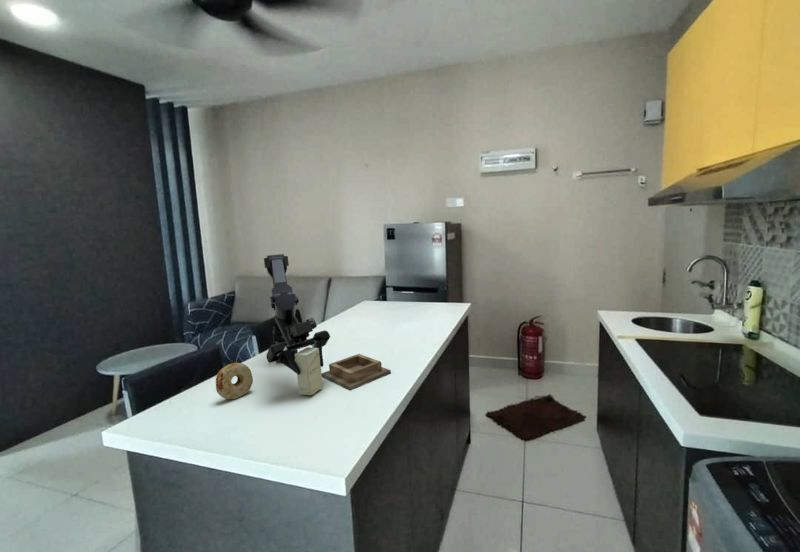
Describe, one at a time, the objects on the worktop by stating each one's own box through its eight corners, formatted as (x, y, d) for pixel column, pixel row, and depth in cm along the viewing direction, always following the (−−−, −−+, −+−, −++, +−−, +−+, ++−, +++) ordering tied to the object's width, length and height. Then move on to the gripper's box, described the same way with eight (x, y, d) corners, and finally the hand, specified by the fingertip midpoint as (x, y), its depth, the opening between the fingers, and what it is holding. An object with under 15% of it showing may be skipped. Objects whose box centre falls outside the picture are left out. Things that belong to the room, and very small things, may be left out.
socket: (321, 376, 124) (320, 364, 123) (361, 361, 134) (360, 351, 134) (349, 390, 112) (348, 377, 111) (390, 373, 122) (390, 361, 122)
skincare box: (311, 396, 108) (306, 355, 106) (298, 394, 110) (293, 354, 108) (323, 386, 114) (319, 347, 112) (311, 384, 116) (307, 346, 114)
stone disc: (222, 405, 108) (217, 371, 106) (216, 402, 110) (212, 369, 109) (256, 391, 115) (252, 360, 114) (250, 388, 118) (246, 357, 116)
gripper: (265, 318, 105) (288, 366, 99) (324, 304, 117) (347, 346, 111) (257, 339, 112) (278, 385, 106) (313, 325, 124) (335, 365, 118)
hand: (311, 370), depth 110 cm, fingers closed on skincare box, 7 cm apart
